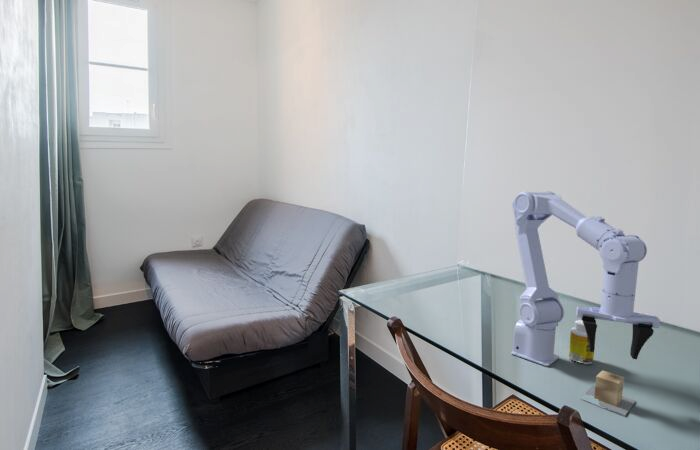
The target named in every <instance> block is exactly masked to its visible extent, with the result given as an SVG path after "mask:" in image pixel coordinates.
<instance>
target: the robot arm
mask: <svg viewBox="0 0 700 450" xmlns="http://www.w3.org/2000/svg"><path fill="white" fill-rule="evenodd" d="M511 206H512V209H513V216H514V230H515V235H516V240H517V245H518V252H519V256H520V261H521V262H520V263H521V265H522V266H521V267H522V271H523V276H524V277H523V278H524V282H525V290H524V291H523V292H522V294H520V296H519V309H518V311H519V313H518V314H519V316H520V319H518V321H517V322H516V323H515V326H514V330H513V340H512V341H513V343H512V351H511V355H514V356H515V357H519V358H522V359H525V360H527V361H530V362H533V363H535V364H539V365H542V366H544V367H549V366H550V365H552V364H553V363H554V362H556V361H557V360H558V359H560V355H558V354H554V353H555V344H556V328H557V327H558V326H559V322H561V321H562V320H563V318H564V317H565V309H564V306H563V304H562V303H561V300H560V299H559V295H558V293H557V292H556V291H555V290H553V289H552V288H551V287H550V285H549V279H548V276H547V271H546V265H545V261H544V259H545V258H544V256H543V249H542V245H541V240H540V234H539V231H538V229H539V227H540V226H541V224H544V222H546V221H547V220H548V219H549V218H550V217H552V216H553V217H555V218H556V219H559V220H560V221H562V222H564V223H566V224H568V225H569V226H571V227H573V228H574V229H576V232H575V233H576V236H577V237H578V238H579V239H581V240H583V241H584V242H585V243H587V244H588V245H590V246H591V247H592V248H594V249H595V250H597V251H598V252H599V255H600V258H601V260H602V264H603V265H602V268H603V270H604V271H603V281H602V282H603V283H602V289H601V301H600V307H593V306H592V307H591V306H589V307H588V306H577V305H576V309H575V316H576V317H577V318H581V319H580V320H582V321H583V324H584V326H585V329H586V333H587V337H588V343H589V350H590V352H594V353H595V349H596V348H595V347H596V346H595V345H596V338H595V334H596V333H597V329H598V324H597V320H603V321H610V322H616V323H617V322H618V323H624V324H632V339H631V345H630V357H631V358H632V359H633V360H638V356H639V355H640V352H641V350H642V349H643V346H644V345H645V344H646V343H647V342H648V340H649V339H650V338H651V337H652V336H653V334H654V333H655V332H654V331H655V330H654V329H659V328H660V321H661V320H660V318H659V317H658V316H656V315H650V314H645V313H639V312H634V308H635V299H636V290H637V281H638V275H639V274H638V273H639V264H640V263H639V262H641V261H643V260H644V259H645V258H646V255H647V251H648V248H647V245H646V243H645V241H644V240H643V239H641V237H639V236H638V235H636V234H627V235H626V234H625V233H624V230H622V229H620V228H615V227H614V226H612V225H610V224H609V223H607V222H606V219H605V218H604V217H602V216H594V215H592V216H588V217H587V216H586V215H585V214H583V213H582V212H580V211H579V210H578V209H576V208H575V207H573V206H572V205H570V204H569V203H568V202H567V201H565V200H563V199H562V196H561V195H560V194H559V195H558V194H556V193H555V192H553V191H548V190H547V191H526V190H523V191H520V192H518V193H517V194H516V196H515V197H514V199H513V201H512V203H511ZM653 328H654V329H653ZM596 335H597V334H596Z"/></svg>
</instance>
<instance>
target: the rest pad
mask: <svg viewBox="0 0 700 450" xmlns="http://www.w3.org/2000/svg"><path fill="white" fill-rule="evenodd" d="M584 394H586V395H589V396H590V395H592V396H594V395H595V385H592V386H591V387H590V388H589V389H588V390H587V391H586V392H585V393H584ZM598 401H599V405H600V406H602V407H605V408H607V409H610V410H612V411H614V412H616V413H615V414H617V413H618V414H617V415H619V414H621V415H620V416H622V415H623V417H624V416H625V417H626V416H627V415H626V414H629V412H630V410H631V409H632V408H633V406H634V404H635V403H636V402H637V401H636V400H634V399H632V398H630V397H627V396H624V395H622V400H621V401H620V403H619V404H618V405H617V406H613V405H610V404H608V403H605V402H603V401H600V400H598ZM607 409H606V410H607ZM612 411H611V412H612ZM614 412H613V413H614Z"/></svg>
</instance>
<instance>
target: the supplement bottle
mask: <svg viewBox="0 0 700 450" xmlns="http://www.w3.org/2000/svg"><path fill="white" fill-rule="evenodd" d="M596 335H597V334H595V339H596V337H597V336H596ZM569 339H570V340H569V348H568V358H569V360H571V361H572V360H573V361H572V362H574V361H580V362H582V363H584V364H583V365H591V364H592V363H593V362H594V356H595V351H594V352H590V350H589V343H588V337H587V333H586V329H585V326H584V324H583V321H582V319H578V320H575V321H574V327H572V328H571V329H570V338H569Z"/></svg>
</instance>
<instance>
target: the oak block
mask: <svg viewBox="0 0 700 450" xmlns="http://www.w3.org/2000/svg"><path fill="white" fill-rule="evenodd" d="M624 380H625V377H624V376H620V375H618V374H614V373H611V372H608V371H606V370H601V371H600V372H599V373H598V374H597V375H596V376H595V383H594V384H595V385H594V386H595V395H594V398H595V399H598V400H600V401H603V402H605V403H608V404H610V405H613V406H617V405H618V404H619V403H620V401H621V400H622V396H623V394H624V393H623V392H624V391H623V390H624V383H625V382H624Z"/></svg>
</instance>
